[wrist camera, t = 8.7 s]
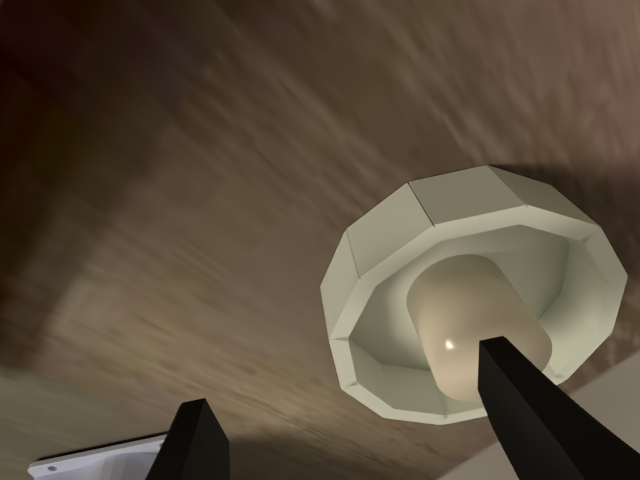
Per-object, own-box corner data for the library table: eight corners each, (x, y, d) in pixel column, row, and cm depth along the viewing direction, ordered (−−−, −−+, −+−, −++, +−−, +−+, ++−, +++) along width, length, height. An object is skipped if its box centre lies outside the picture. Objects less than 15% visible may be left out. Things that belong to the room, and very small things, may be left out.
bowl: (344, 388, 26) (354, 443, 23) (299, 205, 19) (306, 251, 16) (557, 344, 26) (594, 393, 23) (596, 141, 19) (656, 177, 16)
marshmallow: (408, 337, 24) (435, 410, 20) (403, 265, 21) (434, 335, 17) (499, 319, 24) (544, 389, 20) (507, 245, 21) (560, 310, 17)
